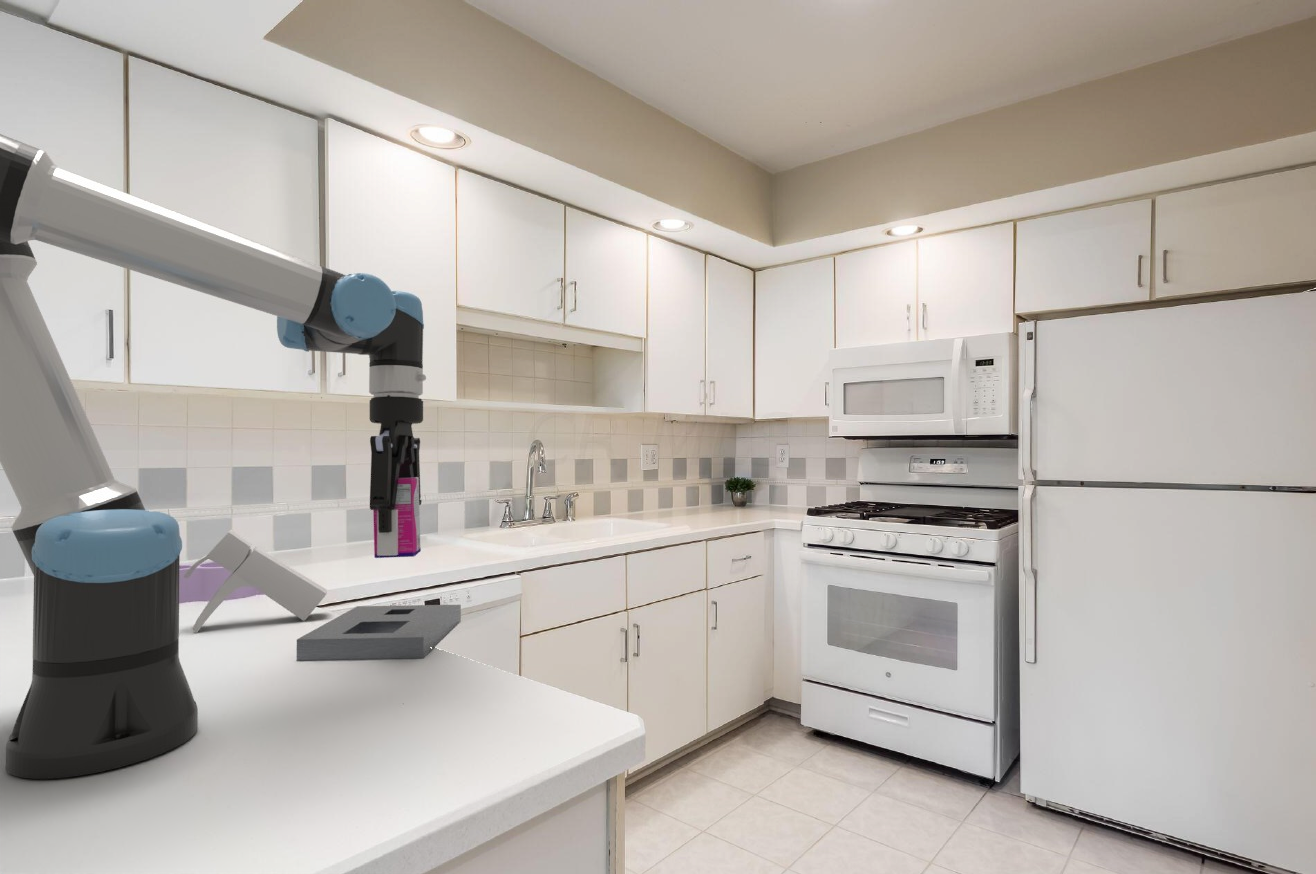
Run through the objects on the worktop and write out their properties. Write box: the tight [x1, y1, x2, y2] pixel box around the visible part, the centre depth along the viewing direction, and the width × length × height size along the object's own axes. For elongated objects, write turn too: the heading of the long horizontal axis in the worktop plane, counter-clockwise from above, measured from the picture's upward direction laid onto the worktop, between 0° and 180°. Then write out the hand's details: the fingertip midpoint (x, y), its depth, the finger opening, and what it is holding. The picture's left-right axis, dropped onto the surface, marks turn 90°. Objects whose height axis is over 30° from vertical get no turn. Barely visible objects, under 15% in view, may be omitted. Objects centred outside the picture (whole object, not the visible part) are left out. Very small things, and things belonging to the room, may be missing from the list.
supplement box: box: [372, 477, 422, 559], centre depth 103 cm, size 6×6×12 cm
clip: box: [179, 560, 266, 604], centre depth 146 cm, size 20×12×7 cm, turn 125°
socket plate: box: [296, 604, 462, 662], centre depth 111 cm, size 22×18×3 cm
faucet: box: [184, 529, 328, 634], centre depth 121 cm, size 6×16×20 cm
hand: (396, 551), depth 103 cm, fingers closed on supplement box, 6 cm apart
